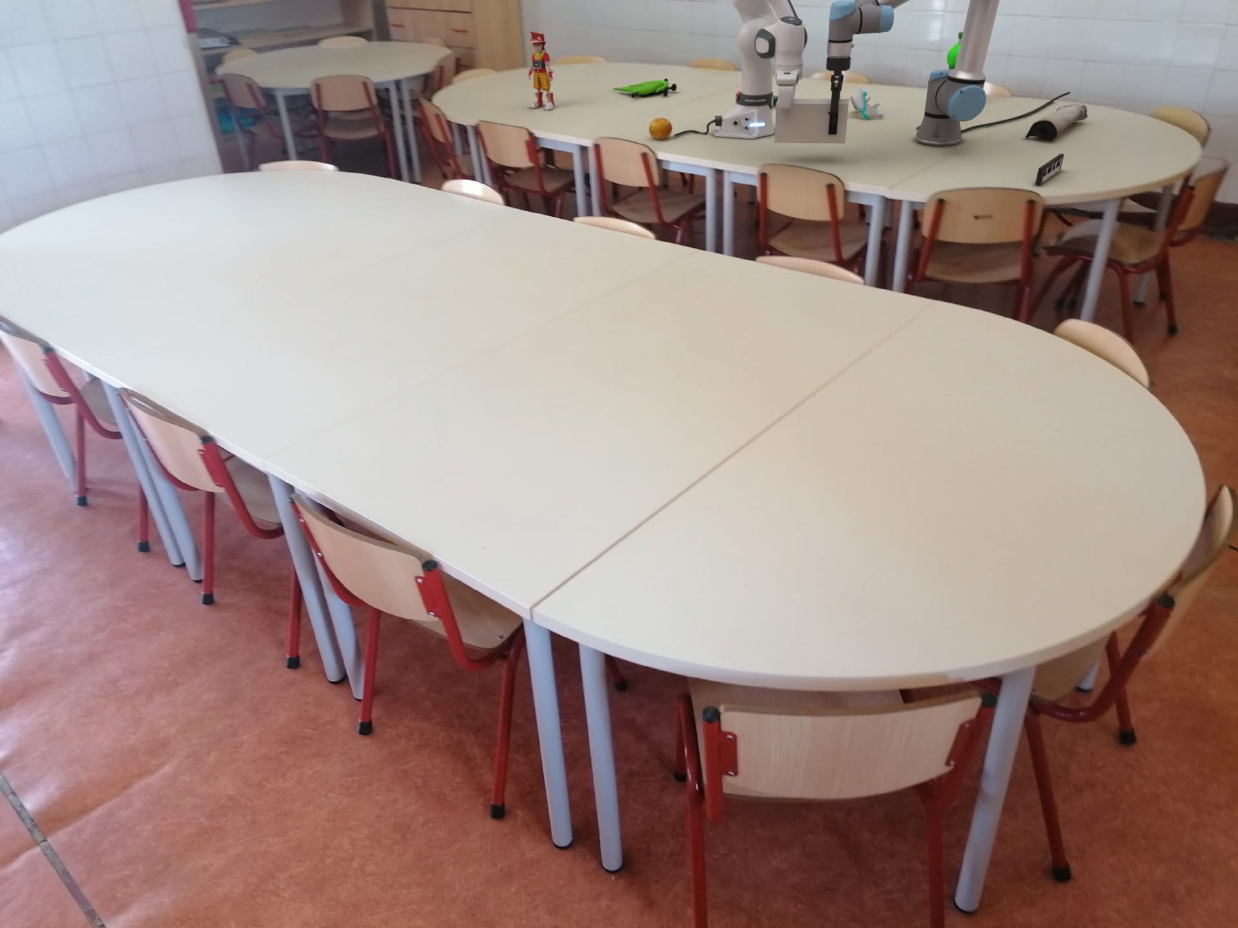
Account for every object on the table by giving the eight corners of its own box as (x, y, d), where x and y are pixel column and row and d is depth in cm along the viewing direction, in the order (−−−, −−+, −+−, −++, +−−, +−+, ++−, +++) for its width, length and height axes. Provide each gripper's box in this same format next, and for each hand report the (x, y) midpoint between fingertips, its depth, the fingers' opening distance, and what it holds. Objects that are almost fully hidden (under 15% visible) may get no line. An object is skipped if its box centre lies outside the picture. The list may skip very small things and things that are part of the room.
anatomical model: (845, 88, 347) (871, 81, 346) (848, 115, 353) (873, 108, 352) (857, 97, 335) (883, 90, 334) (859, 125, 341) (885, 118, 340)
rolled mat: (1054, 109, 326) (1079, 92, 318) (1068, 130, 327) (1093, 113, 318) (1021, 132, 309) (1046, 114, 301) (1035, 154, 309) (1061, 137, 301)
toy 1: (525, 109, 381) (517, 32, 364) (534, 104, 388) (527, 28, 371) (550, 110, 377) (543, 32, 360) (559, 105, 384) (553, 28, 367)
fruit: (641, 130, 330) (653, 111, 327) (649, 133, 338) (660, 114, 335) (659, 143, 329) (671, 123, 326) (666, 146, 337) (678, 126, 334)
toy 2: (686, 85, 398) (631, 84, 414) (685, 72, 395) (629, 72, 411) (651, 104, 381) (596, 103, 397) (650, 92, 378) (594, 91, 394)
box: (774, 143, 299) (776, 103, 292) (776, 137, 304) (778, 99, 297) (844, 143, 294) (848, 103, 287) (845, 138, 299) (849, 99, 292)
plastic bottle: (973, 101, 354) (984, 32, 339) (955, 106, 349) (966, 36, 335) (952, 97, 361) (962, 29, 346) (934, 102, 356) (944, 33, 342)
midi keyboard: (1039, 185, 269) (1043, 168, 266) (1035, 184, 270) (1038, 168, 267) (1060, 170, 279) (1064, 154, 277) (1056, 169, 280) (1060, 153, 277)
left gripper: (781, 66, 298) (779, 110, 305) (775, 80, 281) (773, 125, 289) (801, 66, 296) (798, 110, 304) (795, 80, 280) (793, 126, 288)
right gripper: (850, 62, 274) (843, 139, 287) (852, 50, 289) (845, 124, 302) (825, 62, 276) (819, 139, 289) (828, 50, 291) (823, 123, 304)
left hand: (786, 117), depth 296 cm, fingers open, 8 cm apart
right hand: (832, 131), depth 295 cm, fingers closed on box, 6 cm apart
